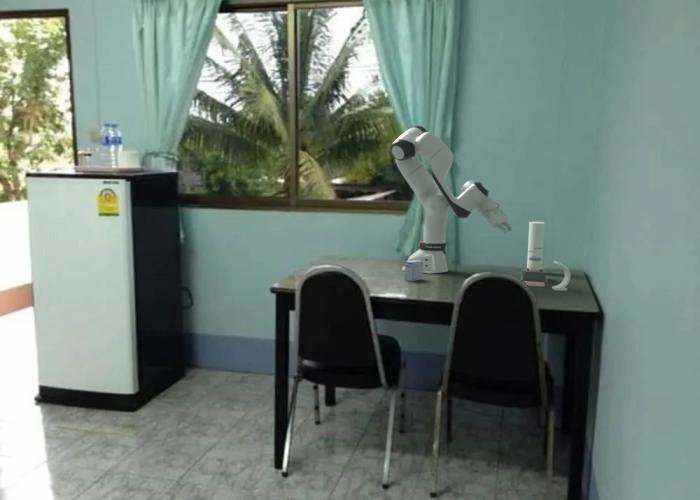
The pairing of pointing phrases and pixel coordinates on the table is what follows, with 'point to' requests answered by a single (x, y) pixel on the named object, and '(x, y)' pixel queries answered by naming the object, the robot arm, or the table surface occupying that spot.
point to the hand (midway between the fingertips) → (508, 231)
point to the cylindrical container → (535, 241)
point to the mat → (535, 284)
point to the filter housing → (534, 275)
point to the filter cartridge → (534, 264)
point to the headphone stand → (565, 281)
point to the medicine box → (413, 270)
